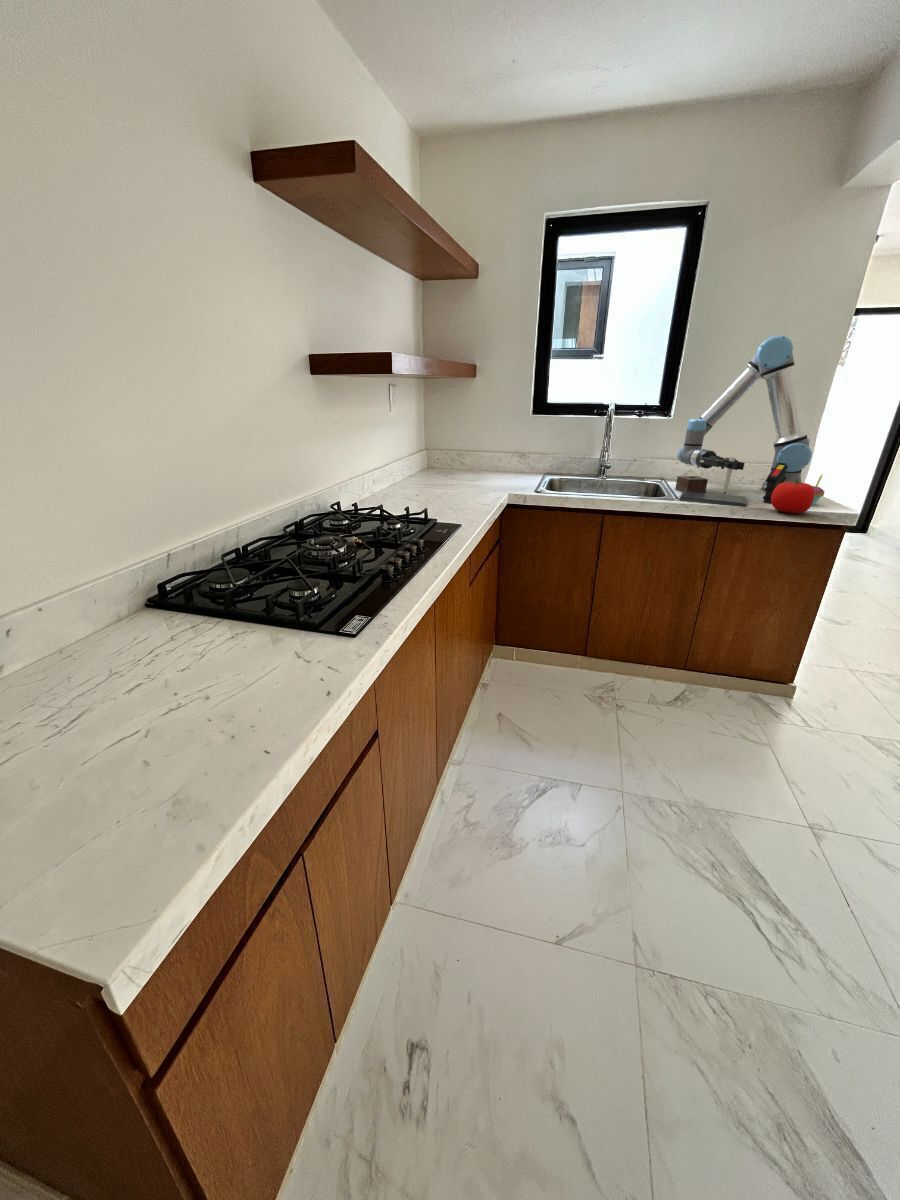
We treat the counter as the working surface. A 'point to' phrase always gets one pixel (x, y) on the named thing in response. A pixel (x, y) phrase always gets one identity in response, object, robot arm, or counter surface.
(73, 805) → the counter surface
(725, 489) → the stylus
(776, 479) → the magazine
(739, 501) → the plate
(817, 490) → the cupcake
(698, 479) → the pen block
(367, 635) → the counter surface
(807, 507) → the tomato
